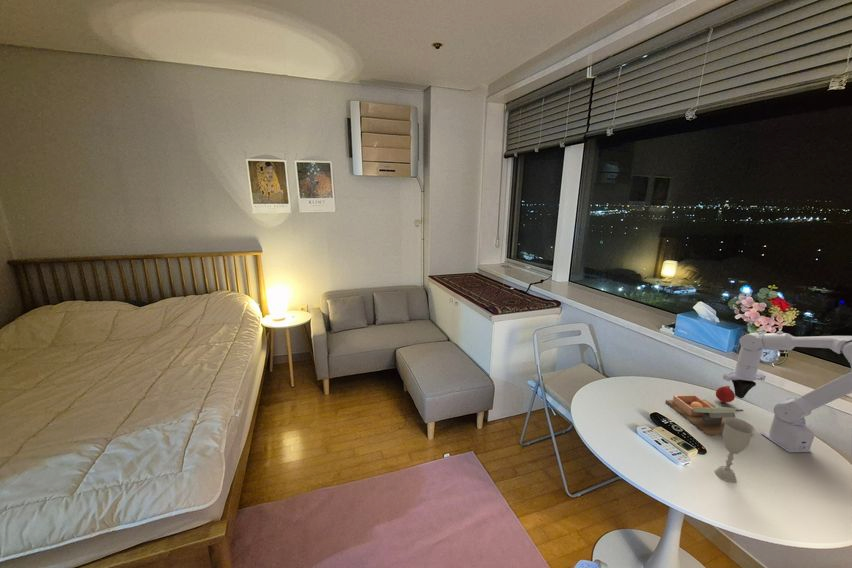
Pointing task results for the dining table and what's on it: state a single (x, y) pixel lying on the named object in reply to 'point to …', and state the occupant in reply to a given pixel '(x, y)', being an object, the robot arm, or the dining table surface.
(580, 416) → the dining table surface
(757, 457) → the dining table surface
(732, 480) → the chalice
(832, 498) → the dining table surface
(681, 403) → the orange open box
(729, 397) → the onion
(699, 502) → the dining table surface
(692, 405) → the ball
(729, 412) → the tipping tray
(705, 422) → the base board
